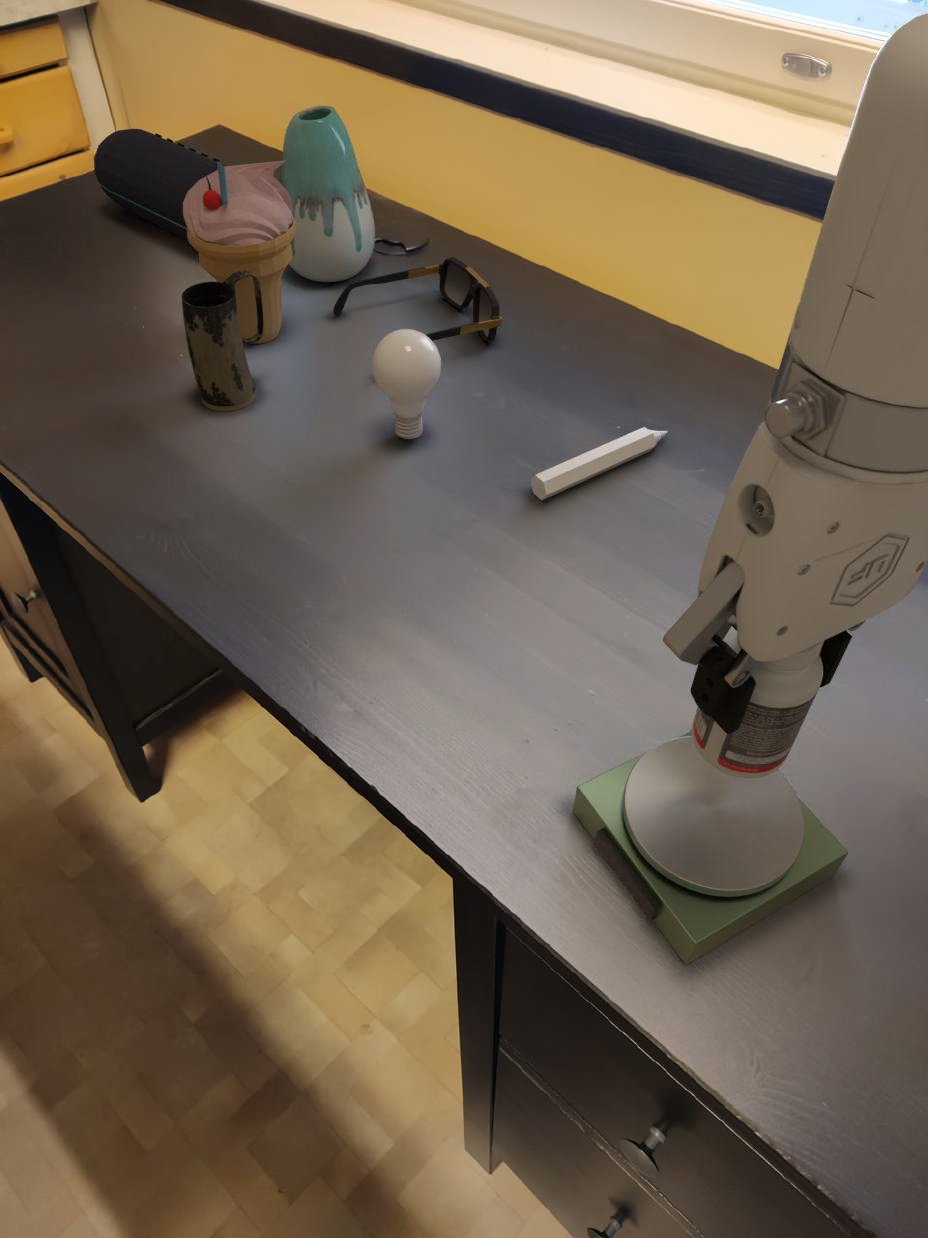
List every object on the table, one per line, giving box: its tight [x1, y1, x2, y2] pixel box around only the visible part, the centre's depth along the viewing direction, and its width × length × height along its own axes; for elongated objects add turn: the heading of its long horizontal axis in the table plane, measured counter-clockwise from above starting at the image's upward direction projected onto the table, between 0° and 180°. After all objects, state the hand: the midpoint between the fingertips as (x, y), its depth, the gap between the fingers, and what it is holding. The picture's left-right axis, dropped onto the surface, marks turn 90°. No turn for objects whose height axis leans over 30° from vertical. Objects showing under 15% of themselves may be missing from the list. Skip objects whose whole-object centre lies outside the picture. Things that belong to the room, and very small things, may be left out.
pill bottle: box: [691, 627, 824, 779], centre depth 49 cm, size 5×5×10 cm
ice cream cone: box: [183, 160, 296, 345], centre depth 96 cm, size 11×11×20 cm
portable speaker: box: [93, 128, 228, 241], centre depth 117 cm, size 25×10×10 cm, turn 49°
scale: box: [572, 729, 849, 966], centre depth 59 cm, size 12×12×3 cm
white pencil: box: [529, 426, 669, 501], centre depth 87 cm, size 3×2×16 cm
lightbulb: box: [371, 328, 442, 440], centre depth 86 cm, size 6×6×11 cm
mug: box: [181, 270, 264, 412], centre depth 91 cm, size 8×6×12 cm
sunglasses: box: [332, 256, 504, 342], centre depth 102 cm, size 14×15×5 cm
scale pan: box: [623, 736, 805, 897], centre depth 58 cm, size 11×11×1 cm
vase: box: [279, 105, 376, 283], centre depth 107 cm, size 12×12×18 cm
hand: (759, 687), depth 49 cm, fingers closed on pill bottle, 5 cm apart
